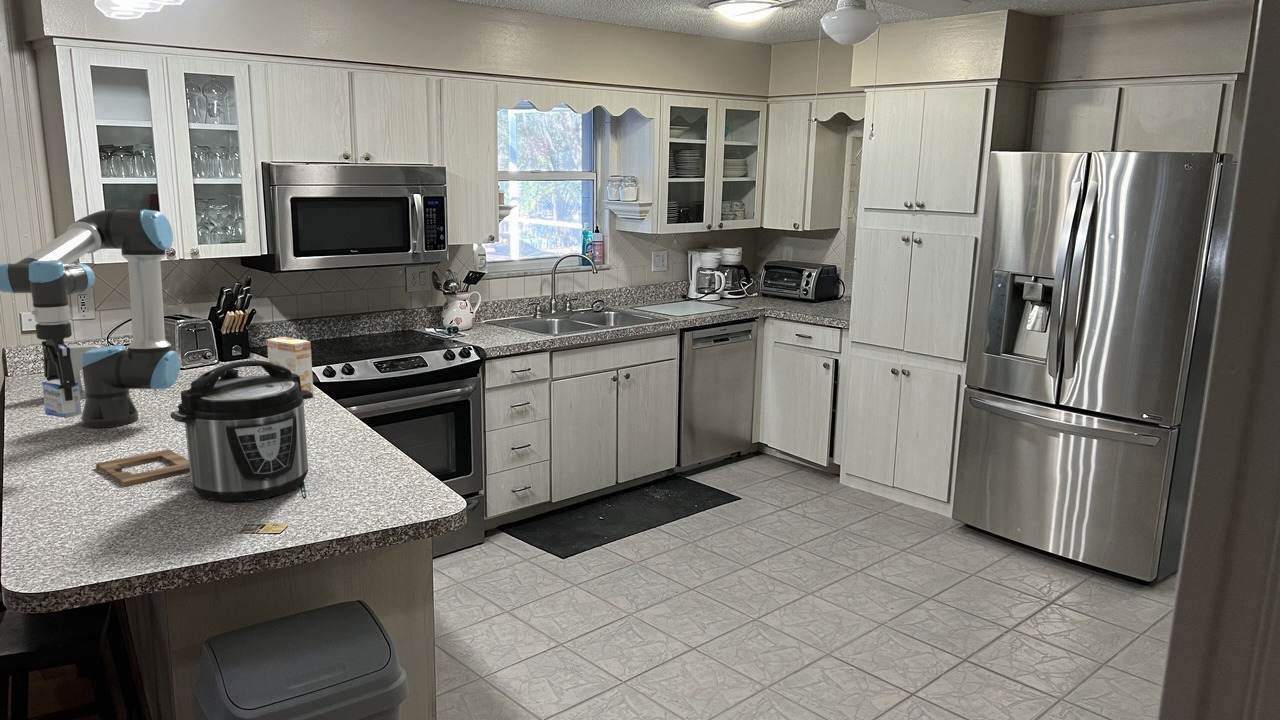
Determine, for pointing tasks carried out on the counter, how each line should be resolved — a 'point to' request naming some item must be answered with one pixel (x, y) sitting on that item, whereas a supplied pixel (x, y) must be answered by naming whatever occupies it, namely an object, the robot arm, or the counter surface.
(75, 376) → the phone holder
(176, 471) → the walnut pocket plate
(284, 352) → the coffeecake box
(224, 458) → the pressure cooker
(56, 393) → the medicine box
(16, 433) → the counter surface
